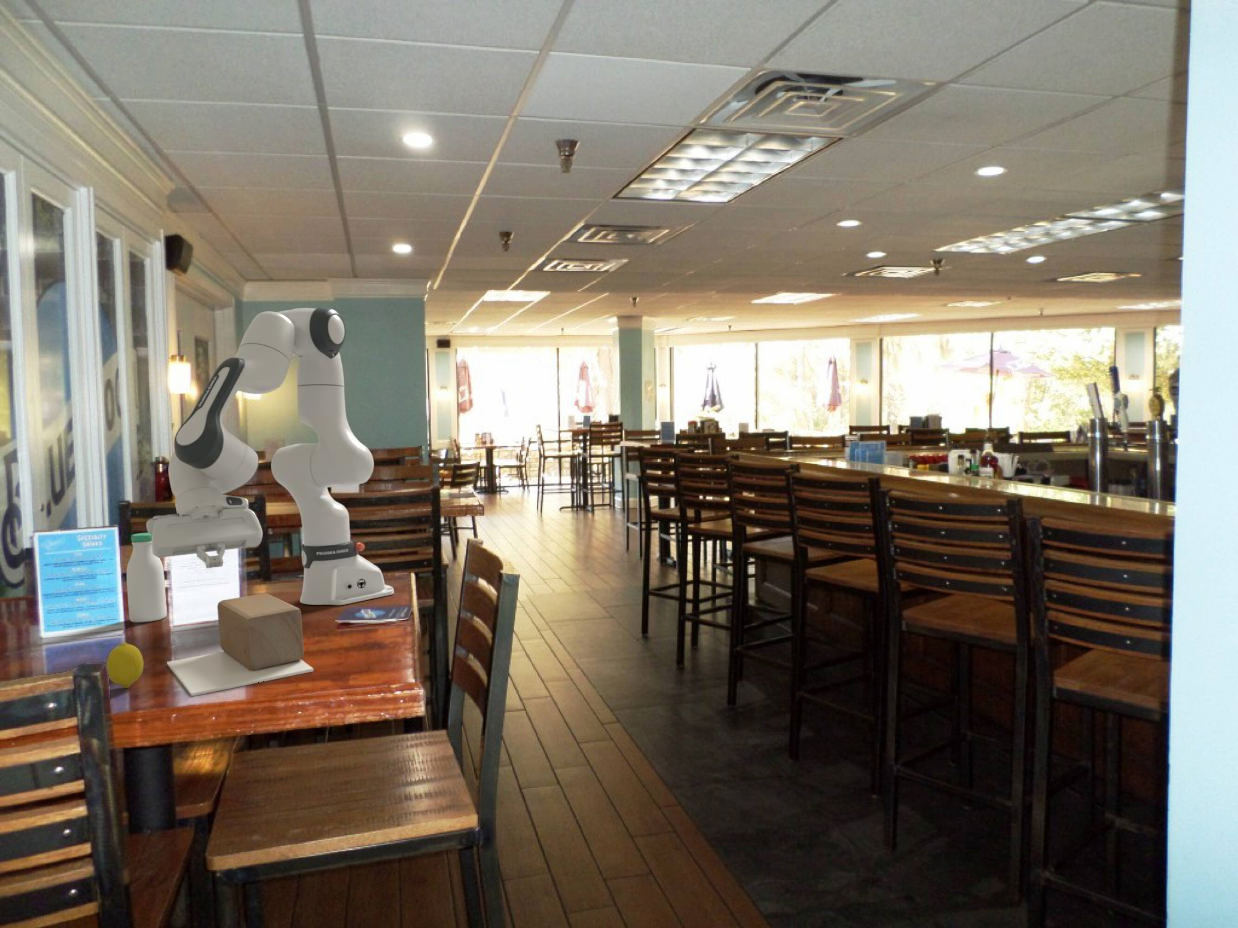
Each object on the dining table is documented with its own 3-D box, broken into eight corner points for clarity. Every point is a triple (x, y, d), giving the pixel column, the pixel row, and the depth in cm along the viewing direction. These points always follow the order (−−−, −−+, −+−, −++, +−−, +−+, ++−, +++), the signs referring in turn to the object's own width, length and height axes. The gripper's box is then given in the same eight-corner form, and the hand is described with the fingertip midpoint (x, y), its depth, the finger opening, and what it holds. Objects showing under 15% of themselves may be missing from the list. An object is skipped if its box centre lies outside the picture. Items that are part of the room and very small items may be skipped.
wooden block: (219, 650, 171) (250, 672, 155) (215, 600, 170) (245, 617, 155) (271, 639, 177) (306, 660, 162) (268, 591, 176) (302, 607, 161)
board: (277, 644, 176) (277, 641, 176) (313, 671, 157) (313, 668, 157) (167, 664, 164) (167, 661, 164) (191, 696, 145) (191, 693, 145)
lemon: (151, 682, 153) (148, 637, 153) (132, 692, 148) (129, 646, 147) (121, 683, 154) (117, 638, 153) (101, 693, 148) (97, 647, 148)
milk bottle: (168, 619, 201) (162, 533, 200) (130, 625, 197) (124, 537, 196) (165, 613, 208) (159, 530, 206) (128, 618, 204) (122, 533, 202)
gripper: (145, 507, 171) (157, 562, 163) (255, 497, 183) (270, 549, 175) (143, 527, 175) (154, 582, 167) (251, 517, 187) (266, 568, 179)
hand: (215, 565), depth 171 cm, fingers closed
